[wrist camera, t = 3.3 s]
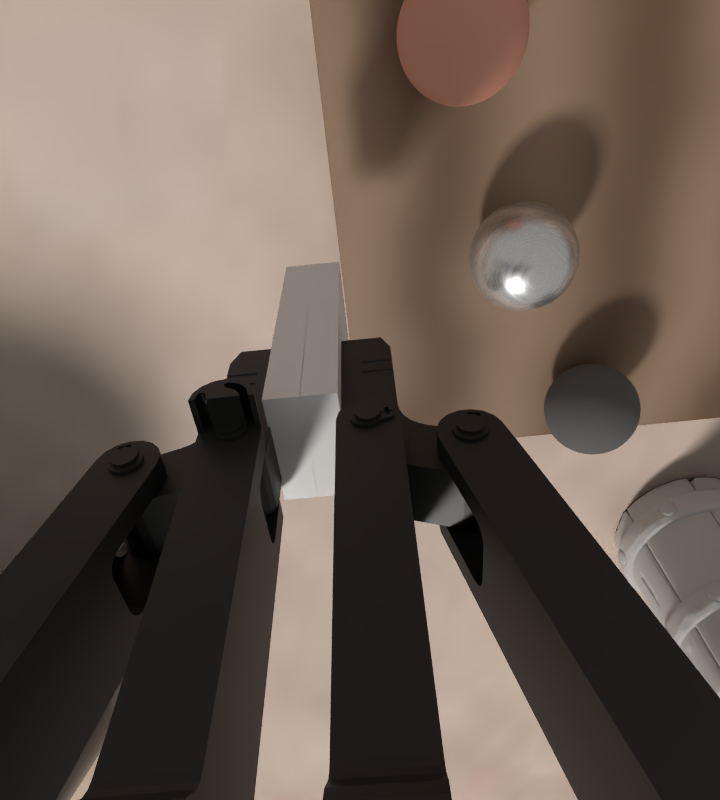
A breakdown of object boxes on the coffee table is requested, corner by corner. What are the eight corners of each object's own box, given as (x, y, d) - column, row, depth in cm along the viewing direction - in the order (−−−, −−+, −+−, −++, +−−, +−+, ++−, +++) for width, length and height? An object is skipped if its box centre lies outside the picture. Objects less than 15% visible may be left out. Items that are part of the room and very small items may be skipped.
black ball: (530, 422, 26) (555, 477, 23) (536, 351, 24) (564, 402, 21) (612, 414, 26) (647, 468, 23) (625, 342, 24) (665, 392, 21)
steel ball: (460, 289, 22) (479, 335, 20) (460, 193, 20) (481, 228, 18) (555, 279, 22) (588, 324, 19) (564, 182, 20) (603, 215, 17)
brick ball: (395, 102, 19) (406, 124, 16) (387, -38, 17) (399, -41, 14) (508, 89, 19) (541, 109, 16) (514, -52, 17) (552, -59, 14)
